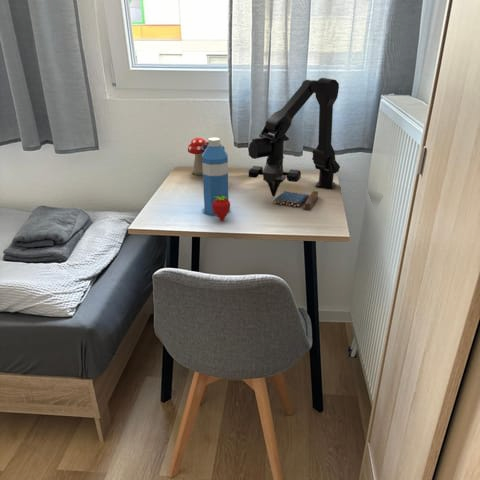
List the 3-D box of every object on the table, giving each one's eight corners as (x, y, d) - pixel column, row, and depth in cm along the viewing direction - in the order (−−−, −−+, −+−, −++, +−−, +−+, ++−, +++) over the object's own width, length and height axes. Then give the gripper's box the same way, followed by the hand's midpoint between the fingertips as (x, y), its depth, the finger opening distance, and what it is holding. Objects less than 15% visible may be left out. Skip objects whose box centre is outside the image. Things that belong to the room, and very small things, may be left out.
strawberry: (209, 223, 166) (207, 194, 161) (218, 215, 172) (217, 187, 167) (224, 225, 164) (224, 197, 159) (233, 218, 170) (233, 190, 165)
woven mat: (283, 195, 189) (283, 189, 188) (309, 199, 185) (309, 194, 184) (272, 203, 182) (273, 198, 181) (299, 208, 178) (299, 202, 176)
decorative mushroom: (214, 171, 215) (213, 136, 206) (206, 177, 208) (205, 141, 200) (194, 169, 218) (192, 134, 209) (185, 175, 211) (183, 139, 203)
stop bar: (312, 197, 187) (312, 190, 186) (317, 197, 187) (318, 191, 185) (304, 209, 176) (304, 203, 175) (309, 210, 176) (310, 203, 175)
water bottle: (233, 207, 178) (232, 136, 164) (224, 217, 171) (222, 143, 157) (209, 204, 181) (206, 134, 167) (199, 213, 174) (195, 141, 160)
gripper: (243, 157, 172) (243, 200, 181) (295, 162, 167) (292, 206, 176) (253, 150, 181) (252, 191, 190) (302, 154, 176) (299, 196, 185)
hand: (273, 196), depth 185 cm, fingers closed
